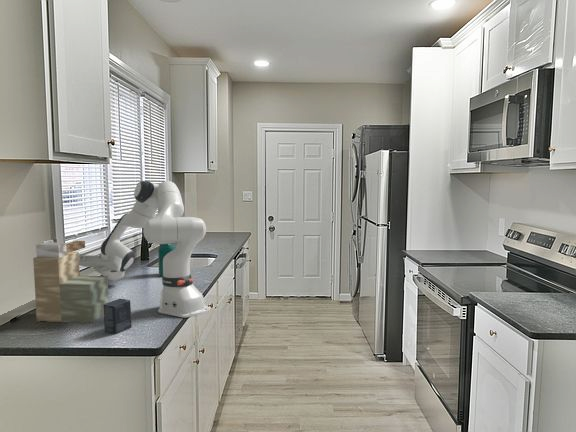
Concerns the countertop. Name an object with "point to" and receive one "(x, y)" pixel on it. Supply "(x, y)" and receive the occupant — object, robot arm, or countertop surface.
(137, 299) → the countertop surface
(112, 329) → the box
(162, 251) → the pitcher
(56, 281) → the riser
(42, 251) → the mallet
